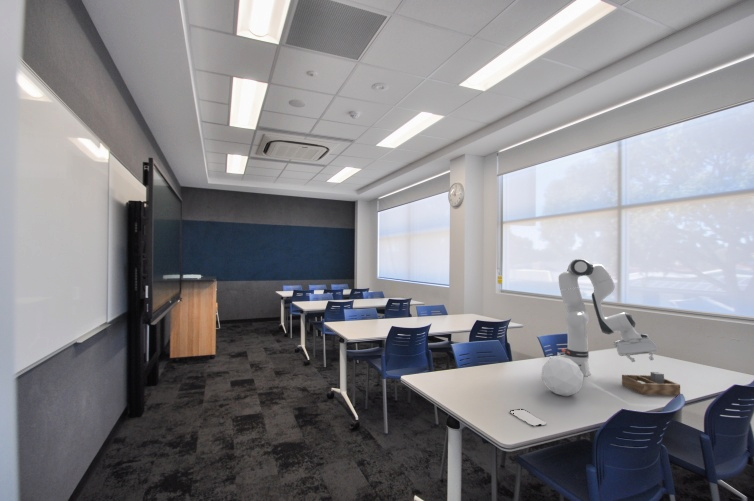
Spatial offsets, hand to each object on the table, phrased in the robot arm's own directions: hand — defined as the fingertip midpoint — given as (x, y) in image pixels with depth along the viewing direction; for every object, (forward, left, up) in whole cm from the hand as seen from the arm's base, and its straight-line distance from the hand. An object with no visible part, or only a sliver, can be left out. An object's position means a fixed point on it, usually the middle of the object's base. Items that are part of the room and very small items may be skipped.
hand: (642, 360), depth 201 cm
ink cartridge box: (-47, +7, -13) cm, 49 cm away
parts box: (-5, -11, -13) cm, 18 cm away
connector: (-1, -11, -13) cm, 17 cm away
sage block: (-10, -11, -13) cm, 20 cm away
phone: (-88, -49, -14) cm, 101 cm away
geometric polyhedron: (-57, -19, -13) cm, 61 cm away
